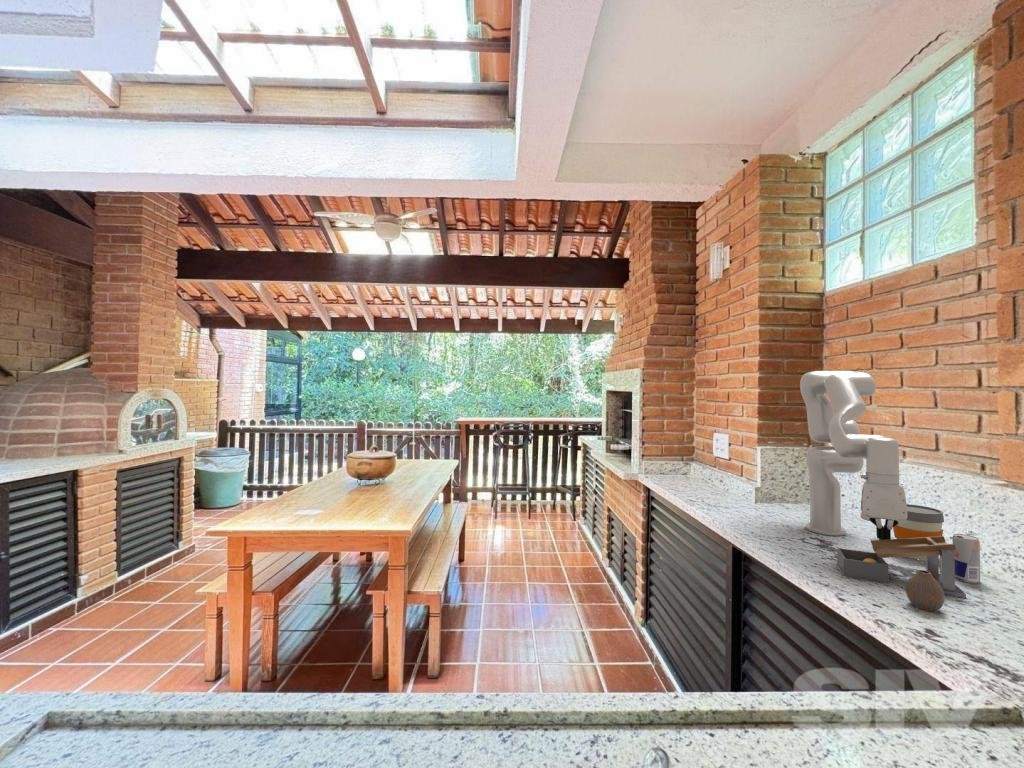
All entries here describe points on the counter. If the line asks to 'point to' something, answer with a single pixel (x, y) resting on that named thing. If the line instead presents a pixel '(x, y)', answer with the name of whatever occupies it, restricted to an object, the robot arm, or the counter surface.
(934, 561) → the stand
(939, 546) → the wooden tilting tray
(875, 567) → the bin
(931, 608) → the vase
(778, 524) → the counter surface
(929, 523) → the reusable coffee cup
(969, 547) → the energy drink
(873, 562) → the ball
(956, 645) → the counter surface
